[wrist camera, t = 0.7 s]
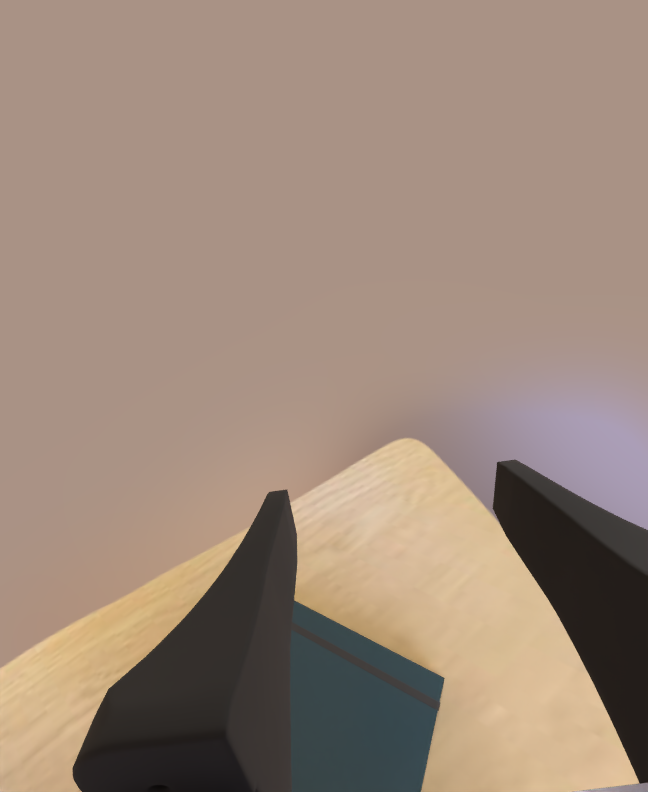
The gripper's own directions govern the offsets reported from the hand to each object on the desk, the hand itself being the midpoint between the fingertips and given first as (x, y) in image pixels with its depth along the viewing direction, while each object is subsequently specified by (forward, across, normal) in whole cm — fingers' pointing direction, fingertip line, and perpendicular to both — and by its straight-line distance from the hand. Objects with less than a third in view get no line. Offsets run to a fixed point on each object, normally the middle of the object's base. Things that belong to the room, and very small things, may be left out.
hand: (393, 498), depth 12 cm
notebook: (+3, +6, +20) cm, 21 cm away
